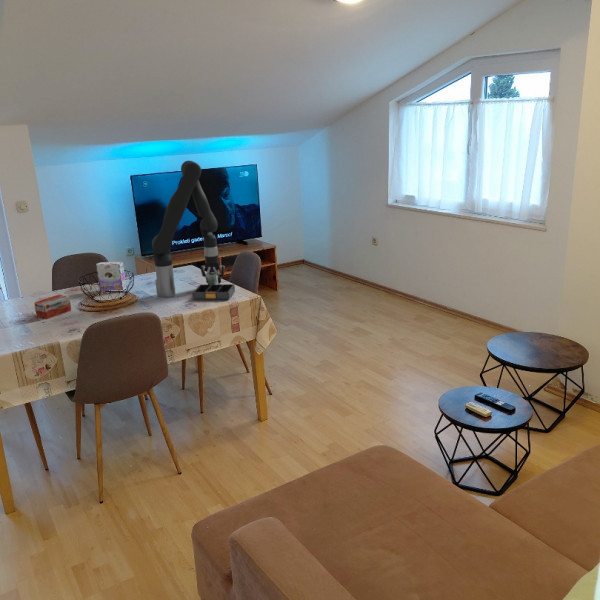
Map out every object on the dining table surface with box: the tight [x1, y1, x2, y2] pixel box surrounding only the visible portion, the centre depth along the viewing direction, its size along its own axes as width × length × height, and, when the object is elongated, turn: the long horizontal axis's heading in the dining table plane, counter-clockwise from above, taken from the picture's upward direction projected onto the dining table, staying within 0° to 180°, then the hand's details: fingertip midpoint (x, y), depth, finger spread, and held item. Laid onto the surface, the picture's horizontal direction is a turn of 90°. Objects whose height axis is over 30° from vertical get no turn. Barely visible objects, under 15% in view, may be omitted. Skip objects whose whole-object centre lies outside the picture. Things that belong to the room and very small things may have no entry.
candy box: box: [95, 261, 127, 292], centre depth 328 cm, size 14×6×16 cm, turn 84°
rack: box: [192, 283, 236, 301], centre depth 312 cm, size 19×16×4 cm
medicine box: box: [33, 294, 72, 320], centre depth 293 cm, size 15×8×8 cm, turn 148°
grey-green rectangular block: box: [206, 272, 218, 285], centre depth 327 cm, size 4×12×9 cm, turn 174°
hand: (213, 283), depth 327 cm, fingers open, 5 cm apart
